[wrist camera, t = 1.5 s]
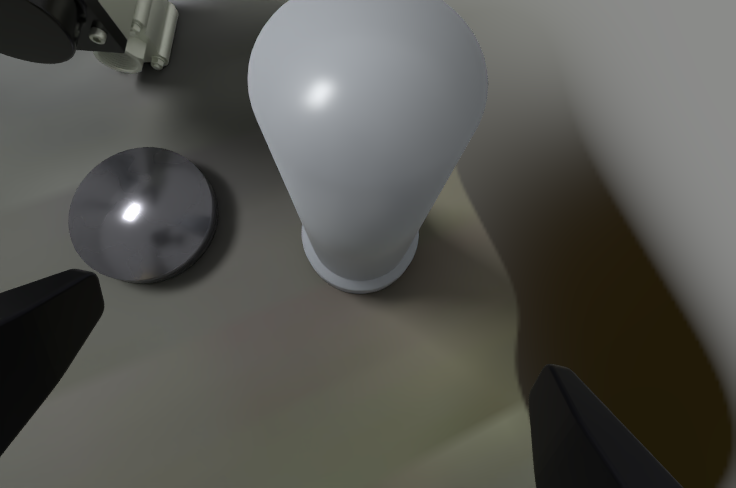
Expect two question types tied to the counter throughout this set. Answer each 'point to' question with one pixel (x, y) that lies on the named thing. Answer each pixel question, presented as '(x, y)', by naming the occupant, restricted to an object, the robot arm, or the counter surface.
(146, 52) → the pneumatic valve
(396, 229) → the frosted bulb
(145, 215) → the dark grey metal disc
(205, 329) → the counter surface
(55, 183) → the counter surface
